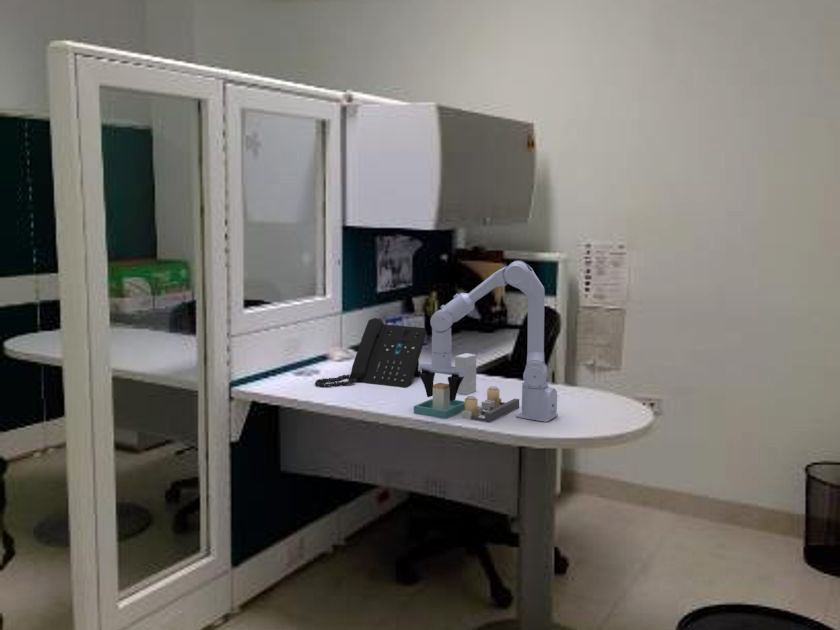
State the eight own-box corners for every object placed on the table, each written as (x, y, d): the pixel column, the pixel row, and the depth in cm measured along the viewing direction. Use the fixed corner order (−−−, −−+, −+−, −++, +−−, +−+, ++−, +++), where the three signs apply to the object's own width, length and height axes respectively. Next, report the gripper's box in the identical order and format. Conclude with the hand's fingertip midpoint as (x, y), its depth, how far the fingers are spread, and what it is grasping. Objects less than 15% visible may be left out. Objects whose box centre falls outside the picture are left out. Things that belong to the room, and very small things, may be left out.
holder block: (519, 407, 234) (519, 399, 234) (489, 422, 218) (489, 413, 218) (492, 403, 239) (493, 395, 238) (462, 417, 223) (462, 409, 223)
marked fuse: (449, 408, 230) (449, 384, 229) (443, 411, 227) (443, 386, 226) (438, 406, 232) (439, 382, 231) (432, 409, 229) (432, 385, 228)
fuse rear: (501, 405, 236) (501, 386, 236) (495, 408, 233) (496, 389, 233) (490, 403, 238) (490, 385, 238) (484, 406, 235) (485, 387, 235)
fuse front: (479, 416, 225) (479, 396, 224) (473, 418, 222) (473, 399, 221) (468, 414, 227) (468, 394, 226) (462, 417, 224) (462, 397, 223)
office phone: (310, 387, 259) (309, 326, 256) (352, 369, 285) (351, 314, 282) (390, 396, 248) (390, 332, 245) (427, 377, 273) (427, 319, 270)
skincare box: (465, 389, 256) (466, 352, 254) (476, 391, 253) (476, 354, 251) (454, 392, 251) (454, 355, 250) (465, 395, 249) (465, 357, 247)
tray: (467, 408, 232) (467, 401, 232) (445, 418, 222) (445, 411, 222) (436, 403, 238) (436, 396, 238) (413, 413, 227) (413, 406, 227)
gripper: (470, 352, 227) (469, 398, 229) (427, 347, 235) (427, 391, 237) (458, 356, 221) (457, 403, 223) (414, 350, 229) (414, 396, 231)
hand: (441, 398), depth 229 cm, fingers open, 7 cm apart
